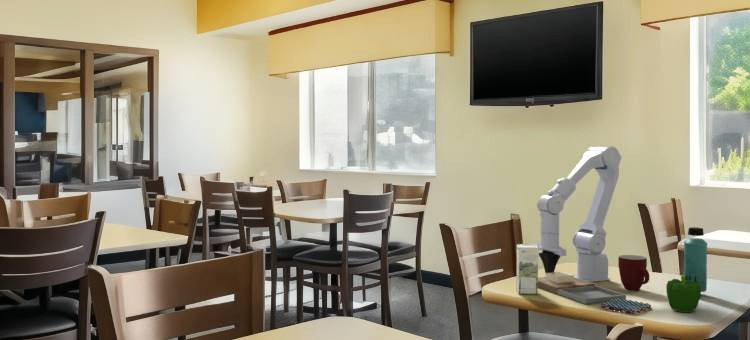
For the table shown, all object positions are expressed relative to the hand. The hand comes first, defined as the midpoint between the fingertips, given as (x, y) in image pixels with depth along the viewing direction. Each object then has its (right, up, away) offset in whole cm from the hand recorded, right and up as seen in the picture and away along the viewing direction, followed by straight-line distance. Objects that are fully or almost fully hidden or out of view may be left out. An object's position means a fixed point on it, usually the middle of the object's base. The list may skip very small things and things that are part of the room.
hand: (549, 274), depth 212 cm
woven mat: (+12, -5, -32) cm, 34 cm away
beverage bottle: (+38, -4, -16) cm, 42 cm away
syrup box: (-10, -4, -12) cm, 16 cm away
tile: (+2, -1, -5) cm, 5 cm away
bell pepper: (+27, -4, -34) cm, 43 cm away
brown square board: (+2, -3, -6) cm, 7 cm away
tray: (+7, -4, -19) cm, 20 cm away
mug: (+23, -3, -10) cm, 26 cm away
